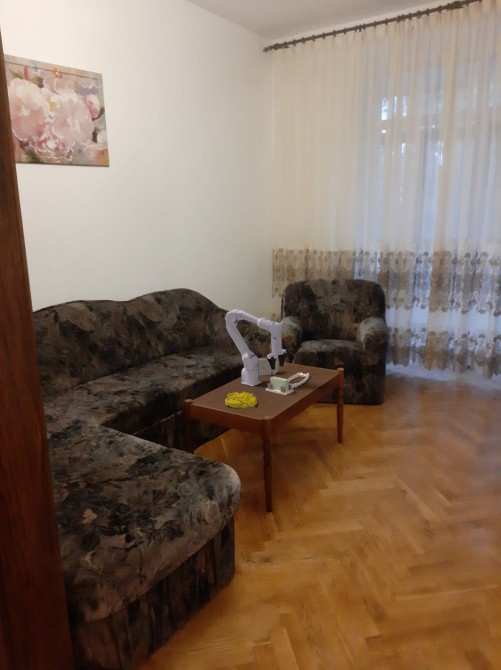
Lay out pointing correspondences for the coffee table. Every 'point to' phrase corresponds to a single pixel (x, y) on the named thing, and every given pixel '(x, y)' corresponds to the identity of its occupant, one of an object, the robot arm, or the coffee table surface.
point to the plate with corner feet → (279, 390)
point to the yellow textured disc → (240, 400)
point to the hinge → (266, 367)
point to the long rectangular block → (279, 383)
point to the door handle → (300, 381)
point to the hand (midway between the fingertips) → (277, 368)
